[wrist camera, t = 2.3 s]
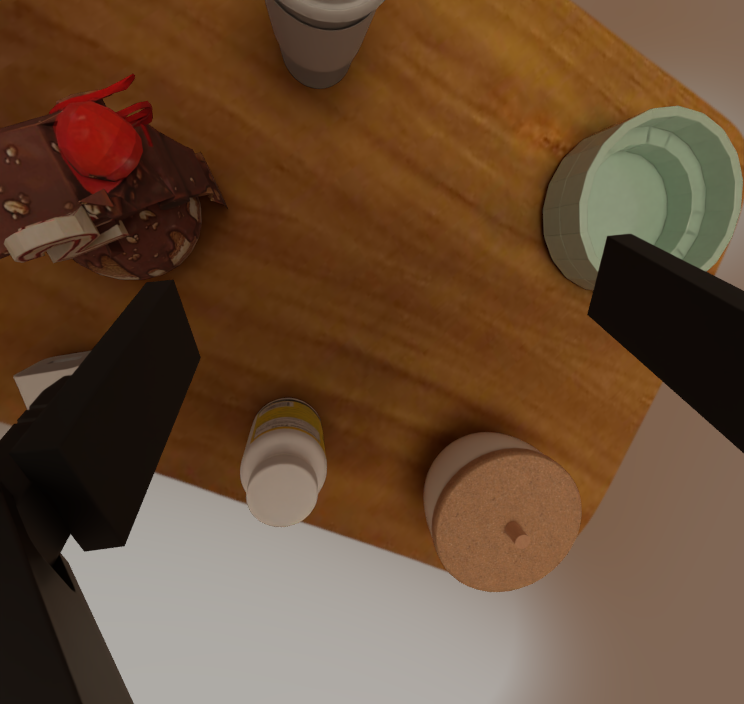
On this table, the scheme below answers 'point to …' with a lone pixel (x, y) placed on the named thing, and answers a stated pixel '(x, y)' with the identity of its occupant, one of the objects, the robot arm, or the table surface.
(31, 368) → the usb wall charger
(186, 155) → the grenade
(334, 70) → the cup
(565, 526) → the trinket box
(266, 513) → the supplement bottle
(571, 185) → the sage bowl
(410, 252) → the table surface
